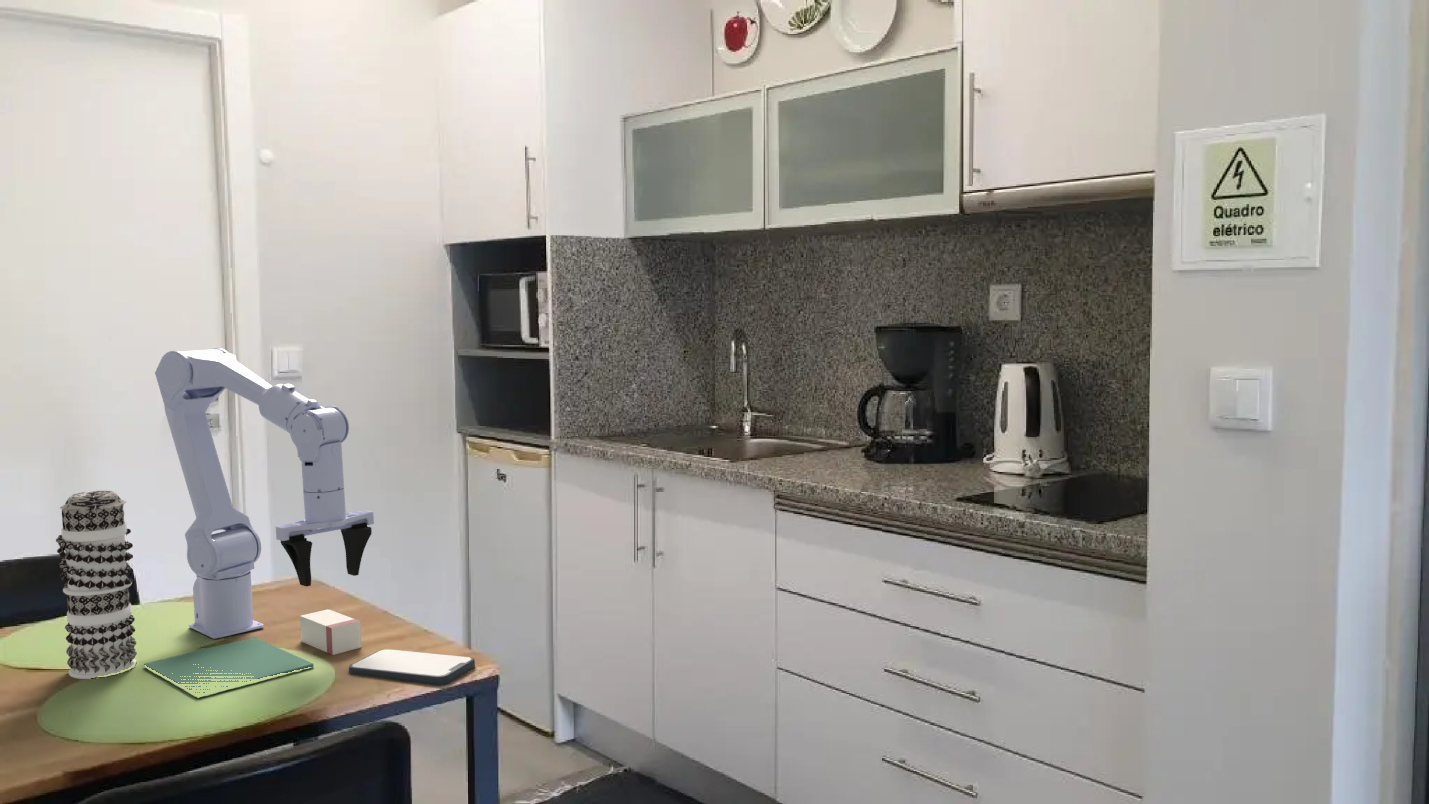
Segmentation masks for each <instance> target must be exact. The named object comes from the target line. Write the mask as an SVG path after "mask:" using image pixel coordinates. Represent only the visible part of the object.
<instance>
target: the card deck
mask: <svg viewBox="0 0 1429 804" xmlns="http://www.w3.org/2000/svg"><path fill="white" fill-rule="evenodd" d="M299 620H300V621H299V622H300V625H299V626H300V641H301V642H302V643H304V644H307V645H308V646H311V647H314V648H316V649H318V650H320V651H323V652H325V653H327V654H330V655H332V656H334V655H338V654H343V653H345V652H350V651H353V650H356V649H360V648H362V630H361V629H362V627H361V626H362V625H361V620H359V619H357V618H354V617H350V616H347V615H344V614H342V613H339V612H337V611H334V610H332V609H324V610H319V611H315V612H310V613H306V614H301V615H300V616H299Z"/></svg>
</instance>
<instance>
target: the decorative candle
mask: <svg viewBox="0 0 1429 804" xmlns="http://www.w3.org/2000/svg"><path fill="white" fill-rule="evenodd" d="M126 503H127V500H124V499H122V498H121V497H120V496H119V495H118V494H117V493H116V492H114V491H113V490H90V491H82V492H78V493H73V494H72V495H70V496H69V497H68V498H67V500H66V501H65V504H63V505H60V507H59V509H60V510H61V522H62V523H61V524H62V528H61V534H59V535H57V536H58V537H57V538H56V539H55V542H56V543H57V544H58V546H59V548H57V550H56V552H57V554H58V556H59V557H60V558H62V559H61V561H60V563H59V564H58V567H59V569H60V570H61V574H60V576H59V577H60V579H61V581H62V582H63V583H65V584H64V587H62V592H63V594H65V595H66V597H67V610H68V611H67V612H66V617H67V624H66V625H65V626H64V629H65V630H66V632H67V633H68V635H66V637H65V640H66V641H67V643H68V644H69V646H68V647H67V648H66V651H65V652H66V655H67V656H68V659H67V660H66V661H67V662H66V663H67V665H68V667H69V670H68V675H69V676H70V678H73V679H77V680H92V679H91V678H94V677H98V676H104V675H108V674H111V673H117V672H120V671H121V670H125V669H128V668H129V667H131V666H132V665H134V664H135V663H136V661H137V660H136V659H135V658H136V656H137V654H138V652H137V651H136V648H135V646H136V645H137V641H136V639H135V637H134V636H132V635H134V633H135V631H136V628H135V626H134V625H132V624H133V623H134V622H135V617H134V615H133V612H132V603H131V602H130V600H129V599H130V591H129V587H131V586H132V584H133V581H134V580H133V579H132V578H130V577H129V575H130V574H131V573H133V571H134V568H133V567H129V566H127V562H129V561H130V560H132V559H133V558H134V555H133V554H132V553H130V552H128V551H129V550H131V549H132V548H133V546H134V545H133V543H132V542H129V541H128V540H125V539H126V538H125V537H127V536H128V535H129V534H130V533H132V530H131V528H127V522H126V521H125V511H124V505H125V504H126Z"/></svg>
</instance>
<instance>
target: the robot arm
mask: <svg viewBox="0 0 1429 804" xmlns="http://www.w3.org/2000/svg"><path fill="white" fill-rule="evenodd" d="M154 375H155V378H156V382H157V386H158V389H159V391H160V395H161V399H162V401H163V402H162V403H163V405H164V406H163V407H164V412H165V416H166V419H167V423H168V427H169V430H170V432H171V436H172V440H173V443H174V447H175V450H176V454H177V457H178V460H179V465H180V467H181V470H182V471H181V472H182V474H183V477H184V480H185V484H186V488H187V491H188V494H189V498H190V500H191V504H192V508H193V512H194V514H195V517H196V518H195V520H194V521H193V523H192V524H191V525H190V526H189V527H188V529H187V530H186V532H185V533H184V537H185V540H186V559H187V563H188V566H189V567H190V569H191V571H192V572H193V573H194V574H195V575H196V576H195V577H196V579H195V581H194V583H193V588H192V592H193V594H192V595H193V611H194V614H193V615H194V622H192V623H189V624H188V627H189V628H191V629H192V630H194V631H197V632H199V633H200V634H203V635H205V636H207V637H210V638H211V639H214V640H215V639H220V638H224V637H228V636H233V635H237V634H242V633H245V632H250V631H255V630H258V629H259V630H260V629H262V628H264V626H265V624H264V623H262V622H259V621H256V620H255V619H254V611H253V609H254V608H253V593H252V592H253V591H252V572H251V571H253V570H254V569H255V563H256V562H258V560H259V558H260V557H261V553H262V542H261V539H260V537H259V534H258V533H257V532H256V530H255V529H254V528H253V526H252V524H251V520H250V517H249V516H248V515H246V514H245V513H243V512H241V511H240V510H237V509H236V508H234V505H233V503H232V499H231V496H230V493H229V490H228V486H227V483H226V478H225V476H224V473H223V470H222V465H221V462H220V459H219V455H218V453H217V452H218V451H217V449H216V444H215V442H214V438H213V435H212V432H211V428H210V425H209V422H208V418H207V414H206V412H207V410H208V408H209V406H210V405H211V404H212V403H214V402H215V400H217V399H218V398H219V396H220V395H221V394H223V392H224V391H225V390H228V391H230V392H232V393H234V394H237V395H238V396H240V397H242V398H243V399H246V400H248V401H250V402H251V403H254V404H256V405H258V411H259V413H260V416H261V417H262V418H263V419H266V420H267V421H269V422H271V423H272V424H274V425H275V426H278V427H279V428H280V429H283V431H286V432H287V433H288V434H289V435H290V439H291V441H292V442H293V444H294V445H295V447H296V450H297V457H298V458H299V461H301V473H302V478H301V479H302V487H303V489H302V490H303V503H304V504H303V505H304V506H303V507H304V519H301V520H297V521H293V522H290V523H287V524H281V525H277V526H275V535H276V541H277V540H278V541H280V544H281V546H282V547H283V550H285V552H286V553H287V555H288V557H289V558H290V560H291V562H292V564H293V567H294V569H295V572H296V575H297V578H298V581H299V585H300V586H304V587H310V586H312V571H311V555H312V547H313V542H312V540H311V541H310V540H308V538H307V537H306V536H312V535H317V534H322V533H328V532H334V531H339V530H340V532H341V536H342V539H343V544H344V550H345V564H346V565H345V566H346V571H347V575H350V576H354V577H355V576H356V577H357V576H359V575H360V567H361V564H362V563H361V562H362V558H363V555H364V551H365V548H366V546H367V544H368V541H369V539H370V537H371V536H372V534H373V531H372V527H371V525H374V524H375V521H374V518H375V517H374V512H373V511H371V510H362V511H354V512H347V511H346V497H345V495H346V494H345V481H344V480H345V479H344V465H343V450H342V449H343V448H342V447H343V446H342V443H344V442H345V440H346V439H347V437H348V435H349V431H350V423H349V420H348V417H347V415H346V414H345V413H344V412H343V411H342V410H341V409H340V408H339V407H338V406H336V405H328V406H325V407H324V406H322V405H320V404H319V402H318V400H316V399H314V398H313V399H309V398H308V397H307V396H305V395H303V394H301V393H300V392H298V391H296V386H295V385H293V384H290V383H286V384H283V383H278V384H275V385H272V384H271V383H268V382H267V381H265V380H264V379H263V378H261V377H260V376H258V374H256V373H254V372H253V371H251V369H249V368H247V367H245V366H244V365H243V363H242V364H241V363H240V362H239V361H238V358H237V356H236V355H235V354H233V353H230V352H228V350H226V349H224V348H220V347H215V348H210V349H198V350H183V351H182V350H181V351H179V350H170V351H167V352H165V354H163V356H161V358H160V361H159V362H158V365H157V367H156V370H155V371H154ZM369 525H370V526H369ZM216 531H220V532H217V533H213V532H216Z"/></svg>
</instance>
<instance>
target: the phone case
mask: <svg viewBox="0 0 1429 804" xmlns="http://www.w3.org/2000/svg"><path fill="white" fill-rule="evenodd" d="M475 661H476V660H475V658H474V657H471V656H462V655H461V656H459V655H450V654H441V653H440V654H439V653H430V652H421V651H412V650H411V651H409V650H402V649H401V650H400V649H393V648H392V649H390V648H386V649H380V650H378V651H376V652H374V653H372V654H370V655H367V656H365V657H364V658H362V659H359V660H358V661H356V662H354V663H351V664H350V665H349V666H348V673H349V674H350V675H353V676H355V675H356V676H361V677H362V676H363V677H369V678H370V677H371V678H378V679H385V680H392V681H399V680H400V681H401V682H409V683H416V684H424V685H432V686H445V685H448V684H451V683H452V682H454V681H455V680H457V679H459V678H460V677H462V676H464V675H465V674H467V673H469V672H470V671H472V670H473V668H474V667H476V662H475ZM471 669H472V670H471ZM474 669H475V668H474ZM468 671H469V672H468Z"/></svg>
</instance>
